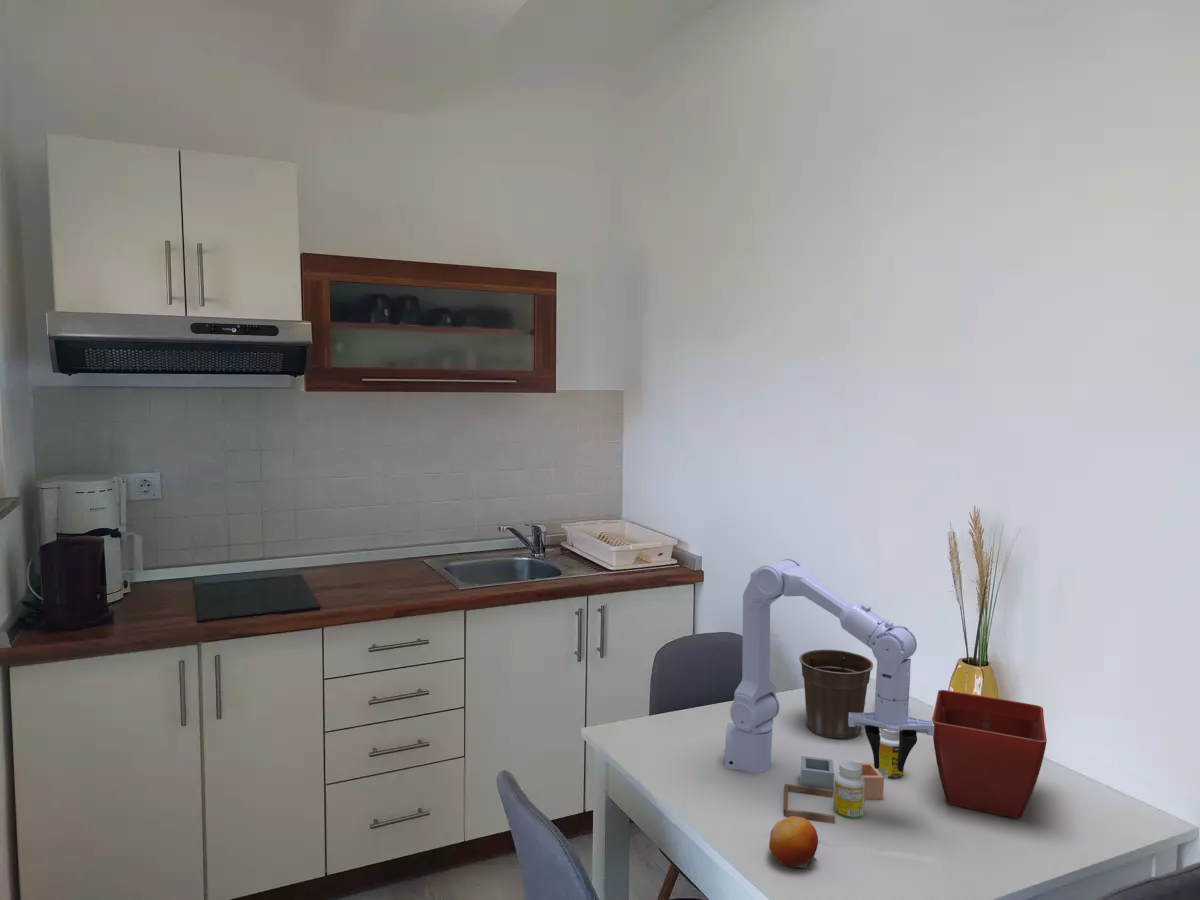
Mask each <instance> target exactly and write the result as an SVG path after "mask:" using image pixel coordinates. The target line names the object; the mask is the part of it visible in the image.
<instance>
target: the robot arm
mask: <svg viewBox="0 0 1200 900" xmlns="http://www.w3.org/2000/svg"><path fill="white" fill-rule="evenodd" d="M782 596H783V597H805V599H808V600H810V601H811V602H812V603H814V604H816V605H817V606H819V607H820V608H822V609H823V610H825V611H827V612H828V613H830V614H831V615H833V616H835V617H837V618H838V619H839V622H840V627H841V628H842V629H843V630H845V631H846V632H847V633H848V634H850V635H851V636H853V637H854V638H856V639H857V640H859V641H860V642H861V643H862V644H864V645H865V646H867V647H868V648H869V649H871V653H872V655H873V656H874V658H875V660H876V675H875V692H874V693H875V695H874V712H873V711H872V712H864V713H850V712H849V716H848V724H849V727H855V726H862V728H863V727H864V731H865V735H866V738H867V741H868V742H869V745H870V748H871V751H872V756H873V764H874V767H875V769H879V747H880V738H881V737H880V733H881V729H887V730H888V731H895V732H898V731H899V753H898V762H897V767H898V770H899V772H903V773H904V770H903V768H904V767H905V764H906V761H907V759H908V756H909V754H910V753H911V751H912V750H913V748H914V746H915V745H916V744H917V741H918V735H917V733H919V734H927V736H932V737H933V736H934V724H933V721H932V720H927V719H921V718H917V717H913V716H909V704H910V703H909V699H910V685H911V683H910V681H911V665H912V664H911V662H912V660H911V657H912V656H913V655H914V654H915V653H916V650H917V649H918V648H917V647H918V644H917V639H916V637H915V635H914V634H913V632H911V631H910V630H909V628H908V627H906V626H903V625H894V623H893V622H892V621H890V620H886V619H884V618H883V617H881V616H880V615H878V614H877V613H875V612H874V611H873V610H872V607H871V605H869V604H867V603H864V604H862V603H861V602H854V603H849V602H848V601H847V600H846V599H844V597H842V596H841V595H839V594H838V593H837V592H836V591H834V590H833V589H831V588H830V587H829V586H827V584H825V583H824V582H823V581H821V580H820V579H819V578H818V577H816V576H815V575H813V573H812V572H811V571H810V569H809V568H808V567H807V566H804V565H801V564H800V563H799V562H798V561H797V560H795V559H792V558H785V559H783V560H780V561H777V562H773V563H770V564H767V565H766V564H765V565H761V566H760V567H758V568H756V569H755V570H753V571H752V572H751V573H750V580H749V582H748V584H747V586H746V588H745V589H744V591H743V595H742V667H741V668H742V672H741V673H742V678H741V681H740V683H739V684H738V686H737V688H736V689H735V690H734V697H733V702H732V704H731V706H730V709H729V711H730V712H729V714H730V719H731V721H732V722H728V723H727V724H726V731H725V732H726V734H725V749H724V751H723V752H724V754H723V759H724V769H728V770H729V769H730V770H738V771H741V772H746V773H751V774H763V773H766V772H769V771H770V770H771V766H772V741H773V724H774V719H775V718H776V717H778V715H779V713H780V710H781V709H780V702H779V699H778V696H777V692H776V689H777V688H776V685H775V684H774V683H773V682H772V681H771V679H770V676H771V673H770V670H771V669H770V668H771V665H770V662H771V661H770V660H771V659H770V658H771V657H770V656H771V655H770V654H771V652H770V651H771V604H773V603H774V602H776V600H778V599H779V598H781V597H782ZM730 762H732V763H730ZM904 769H905V768H904Z"/></svg>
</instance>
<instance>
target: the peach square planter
mask: <svg viewBox="0 0 1200 900" xmlns="http://www.w3.org/2000/svg"><path fill="white" fill-rule="evenodd" d="M858 763H859V764H861V766H862V775H861V776H862V777H863V778H864V780H865V797H864V800H883V799H884V785H885V778H884V777H883V776H882V774H881V773H880V772H879V770H878V769H875V767H874V762H858Z"/></svg>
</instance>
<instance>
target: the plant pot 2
mask: <svg viewBox="0 0 1200 900" xmlns="http://www.w3.org/2000/svg"><path fill="white" fill-rule="evenodd" d="M1044 715H1045V713H1044V708H1043V706H1040V705H1038V704H1037V705H1036V704H1031V703H1025V702H1021V701H1015V700H1008V699H1002V698H996V697H990V696H984V695H978V694H971V693H965V692H958V691H951V690H946V689H939V690H938V691H937V694H936V701H935V704H934V710H933V714H932V719H931V721H933V724H934V736H932V739H933V747H934V749H933V750H934V754H935V760H936V765H937V766H936V767H937V770H938V774H939V779H940V783H941V787H942V791H943V794H944V797H945V800H946V802H947V803H948V804H950V805H955V806H958V807H959V806H960V807H965V808H968V809H972V810H976V811H977V810H978V811H981V812H987V813H990V814H995V815H1000V816H1003V817H1004V816H1005V817H1009V818H1014V819H1020V818H1022V817H1023V814H1024V813H1025V810H1026V809H1027V806H1028V805H1029V803H1030V802H1029V801H1030V800H1031V797H1032V795H1033V792H1034V789H1035V786H1036V784H1037V781H1038V778H1039V775H1040V772H1041V769H1042V764H1043V760H1044V757H1045V752H1046V748H1047V741H1048V738H1047V732H1046V726H1045V725H1046V724H1045V716H1044Z"/></svg>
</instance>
